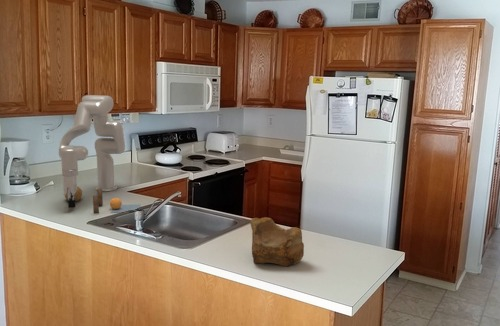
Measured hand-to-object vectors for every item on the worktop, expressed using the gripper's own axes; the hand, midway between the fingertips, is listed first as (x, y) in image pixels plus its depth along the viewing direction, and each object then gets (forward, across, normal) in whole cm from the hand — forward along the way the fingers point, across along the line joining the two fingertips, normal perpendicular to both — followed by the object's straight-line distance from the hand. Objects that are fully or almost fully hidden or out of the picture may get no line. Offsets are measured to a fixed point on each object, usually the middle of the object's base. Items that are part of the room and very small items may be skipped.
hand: (72, 207), depth 241 cm
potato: (+2, -19, -3) cm, 19 cm away
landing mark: (+2, 0, +27) cm, 27 cm away
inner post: (+2, -6, +13) cm, 15 cm away
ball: (-2, +1, +22) cm, 22 cm away
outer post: (+2, +6, +13) cm, 15 cm away
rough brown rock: (+2, +78, +88) cm, 117 cm away
